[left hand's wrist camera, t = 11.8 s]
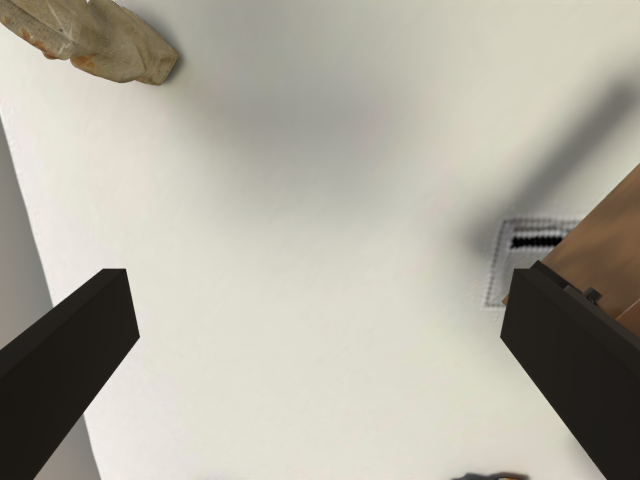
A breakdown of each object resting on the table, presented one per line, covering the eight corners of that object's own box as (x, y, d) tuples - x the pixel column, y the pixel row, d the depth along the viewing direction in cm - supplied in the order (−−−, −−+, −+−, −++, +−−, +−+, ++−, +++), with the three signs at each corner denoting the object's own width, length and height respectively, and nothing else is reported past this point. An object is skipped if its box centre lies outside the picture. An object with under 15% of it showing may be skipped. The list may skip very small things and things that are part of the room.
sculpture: (131, -2, 36) (9, -66, 22) (194, 52, 37) (119, 25, 23) (101, 49, 37) (-30, 21, 23) (163, 99, 39) (76, 100, 25)
